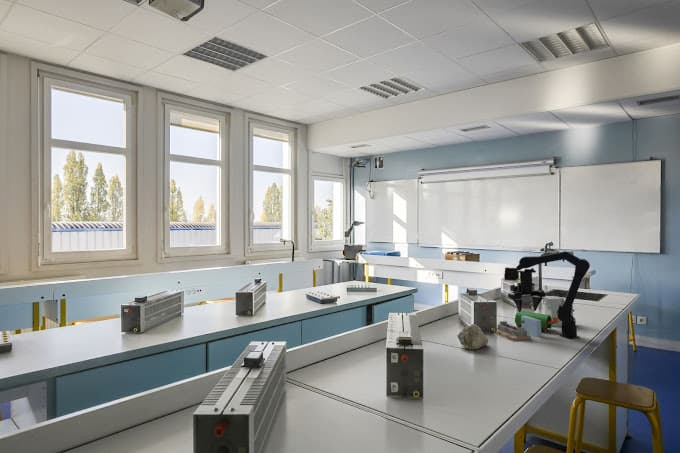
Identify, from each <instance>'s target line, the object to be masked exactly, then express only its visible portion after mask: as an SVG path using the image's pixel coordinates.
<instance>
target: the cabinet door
mask: <svg viewBox="0 0 680 453" xmlns="http://www.w3.org/2000/svg"><path fill="white" fill-rule="evenodd" d="M521 325H522V327H524V328H525V330H526V331H527V334H528V333H529V334H528V335H530V336H534V337H536V336H537V338H538V337H539V336H540V337H542V330H541V320H538V319H534V318H531V317H528V316H521Z"/></svg>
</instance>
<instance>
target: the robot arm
mask: <svg viewBox="0 0 680 453" xmlns="http://www.w3.org/2000/svg"><path fill="white" fill-rule="evenodd" d="M563 260H565V261H566V262H568V263H570V264H571V265H574V266H575V267H574V273H573V276H572V277H573V278H572V281H571V282H570V284H569V285H570V286H569V288H568V291H567V294H566V296H565V298H564V303H563V304H560V303H559V308H558V309H557V312H556V313H558V314H557V317H558V319H559V320H560V321H562V326H560V327H561V333H560V334H559V336H560V337H563V338H565V339H578V338H581V336H579V335H578V331H577V325H576V323H577V321H576V318H575V317H574V315H573V316H572V315H571V312H572V305H574V302H575V298H576V296H577V293H578V291H579V289H580V286H581V284H582V283H581V282H582V280H583V278H584V277H585V276H586V274H587V272H588V271H589V269H590V262H589V261H588V260H587V259H584V258H580V257H578V256H576V255H574V254H572V253H570V252H569V251H566V250H563V251H561V252H555V253H550V254H544V255H543V254H542V255H539V256H538V255H537V256H536V255H535V256H527V255H526V256H523V257H522V258H520V259H519V262H518V265H517V266H515V267H505V268H504V274H503V278H504V281H510V282H511V281H514V282H516V281H517V280H519V282H518V285H515V284H511V285H509V290H510V291H508V293H507V298H508V299H510V300H512V301H513V302H514V304H515V306H516V309H517V311H519V312H521V311H522V306H523V298H524V297H531V299H532V309H533V311H537V309H538V307H539V305H540V303H541V302H542V301H543V299H544V298H543V297H547V296H546V294H547V293H546V291H544V290H539V289H534V290H533V288H534V287H533V286H535V283H533V273H534V274H536V273H537V270H536V269H535V268H534V266H537V265H541V264H544V263H545V264H546V263H551V262H557V261H558V262H559V261H563ZM522 269H524V270H522Z"/></svg>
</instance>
